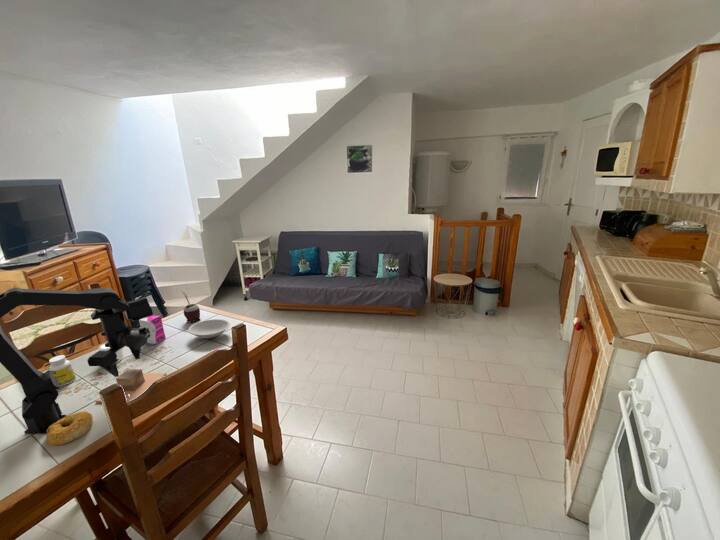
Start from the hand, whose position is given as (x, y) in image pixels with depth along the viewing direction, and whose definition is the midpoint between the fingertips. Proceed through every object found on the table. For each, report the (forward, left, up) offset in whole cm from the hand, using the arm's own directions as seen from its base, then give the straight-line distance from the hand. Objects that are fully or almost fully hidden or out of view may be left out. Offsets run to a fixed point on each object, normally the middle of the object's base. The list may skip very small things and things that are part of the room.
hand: (127, 367), depth 100 cm
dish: (+34, -10, -8) cm, 36 cm away
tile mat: (0, 0, -8) cm, 8 cm away
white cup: (+16, +20, -8) cm, 27 cm away
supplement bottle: (+3, +27, -8) cm, 29 cm away
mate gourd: (+49, +7, -8) cm, 50 cm away
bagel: (-18, +4, -9) cm, 21 cm away
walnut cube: (0, 0, -8) cm, 8 cm away
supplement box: (+30, +13, -8) cm, 34 cm away
